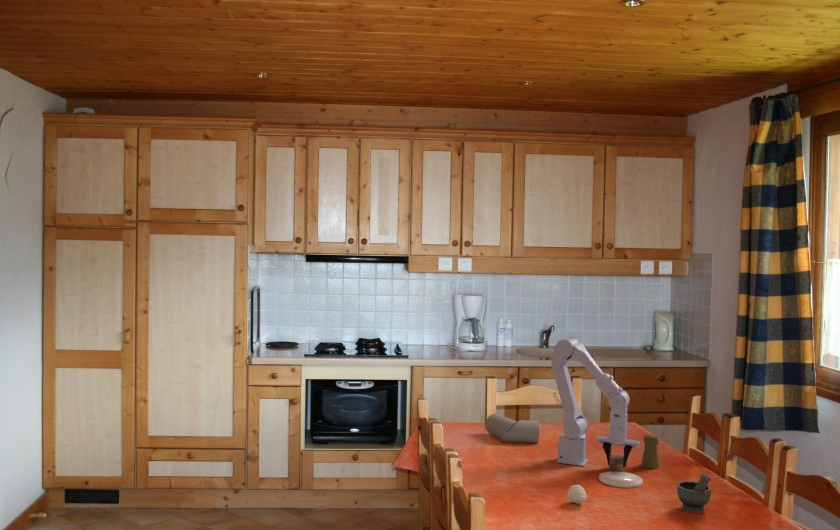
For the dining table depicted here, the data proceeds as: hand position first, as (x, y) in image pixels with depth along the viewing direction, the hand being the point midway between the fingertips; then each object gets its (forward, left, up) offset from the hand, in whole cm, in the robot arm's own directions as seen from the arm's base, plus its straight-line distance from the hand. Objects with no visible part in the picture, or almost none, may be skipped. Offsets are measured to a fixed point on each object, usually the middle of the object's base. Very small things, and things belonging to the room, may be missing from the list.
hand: (617, 465), depth 268 cm
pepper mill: (+10, +10, -2) cm, 14 cm away
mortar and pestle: (+27, -30, -2) cm, 40 cm away
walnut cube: (0, 0, -1) cm, 1 cm away
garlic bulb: (-5, -41, -2) cm, 41 cm away
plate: (+3, -12, -1) cm, 12 cm away
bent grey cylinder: (-44, +22, -2) cm, 49 cm away
